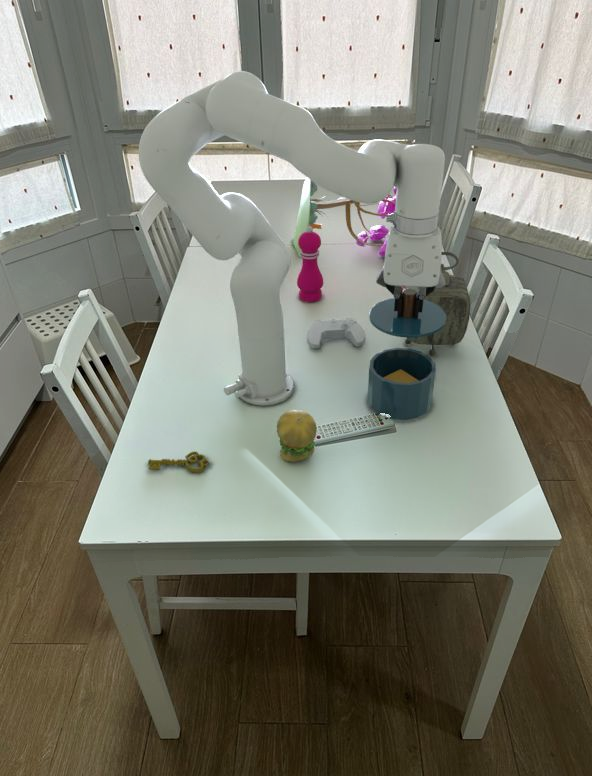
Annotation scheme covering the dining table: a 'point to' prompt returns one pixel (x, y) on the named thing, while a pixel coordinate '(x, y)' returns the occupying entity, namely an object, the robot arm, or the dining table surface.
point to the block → (400, 377)
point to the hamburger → (296, 435)
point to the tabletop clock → (448, 310)
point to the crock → (398, 396)
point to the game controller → (335, 331)
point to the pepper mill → (309, 267)
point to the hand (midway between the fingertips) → (407, 313)
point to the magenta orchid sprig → (376, 232)
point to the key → (181, 462)
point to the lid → (407, 317)
